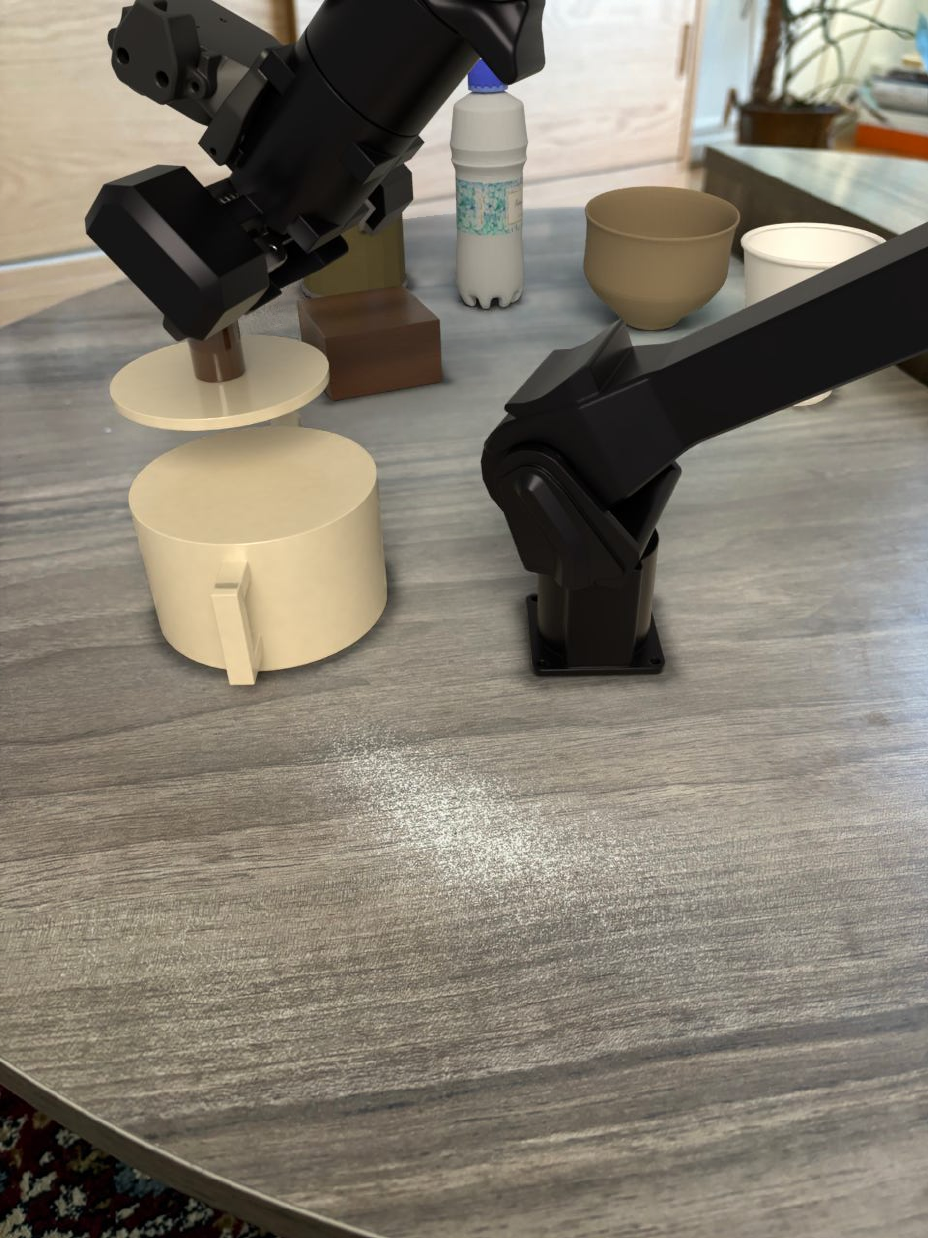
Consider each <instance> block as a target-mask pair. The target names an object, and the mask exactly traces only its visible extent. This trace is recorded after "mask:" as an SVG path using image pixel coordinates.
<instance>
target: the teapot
mask: <svg viewBox="0 0 928 1238" xmlns="http://www.w3.org/2000/svg"><path fill="white" fill-rule="evenodd" d="M378 476H379V475H378V469H377V464H376V462H375V460H374V458H373V457H372V455H371V454H370V453H369V452H368V451H367V450H366V449H365V448H364V447H363V446H361V445H360V444H359V443H357V442H355V441H354V440H352V439H350V438H348V437H345V436H343V435H340V434H337V433H334V432H330V431H327V430H323V429H317V428H312V427H304V426H302V416H301V413H300V411H299V410H298V409H296V410H294V411H292V412H290V413H287V414H284V415H282V416H279V417H276V418H273V419H270V420H269V425H266V426H253V427H245V428H244V427H243V428H236V429H232V430H226V431H222V432H219V433H213V434H210V435H205V436H203V437H199V438H197V439H194V440H190V441H188V442H185V443H183V444H181V445H178V446H176V447H174V448H172V449H170V450H168V451H166V452H165V453H163V454H161V455H160V456H158V457H157V458H155V459H153V460H151V462H150V463H148V464H147V465H145V467H144V468H143V469H142V470H141V471H140V472H138V474H137V475H136V476H135V478H134V480H133V481H132V484H131V485H130V488H129V490H128V497H127V500H128V507H129V512H130V515H131V519H132V523H133V527H134V530H135V534H136V538H137V542H138V546H139V550H140V554H141V558H142V562H143V565H144V571H145V573H146V574H145V575H146V577H147V581H148V585H149V589H150V593H151V597H152V601H153V604H154V609H155V612H156V617H157V619H158V624H159V628H160V630H161V632H162V635H163V637H164V638H165V639H166V641H167V642H168V644H169V645H170V646H171V647H172V648H173V649H174V650H176V651H177V652H178V653H179V654H181V655H183V656H184V657H186V658H188V659H190V660H191V661H194V662H196V663H198V664H202V665H205V666H208V667H211V668H216V669H221V670H226V674H227V678H228V684H229V685H230V686H253V685H254V686H255V684H256V680H257V676H258V673H259V672H270V671H278V670H285V669H291V668H296V667H300V666H304V665H308V664H311V663H314V662H317V661H320V660H324V659H325V658H329V657H330V656H333V655H335V654H337V653H338V652H341V651H343V650H345V649H347V648H349V647H350V646H351V645H353V644H354V643H356V642H357V641H359V640H360V639H361V638H362V637H364V636H365V635H366V634H367V633H368V632H369V631H370V630H371V629H373V627H374V626H375V625H376V624H377V622H378V621H379V619H380V618H381V616H382V615H383V612H384V610H385V608H386V605H387V601H388V600H387V599H388V583H387V571H386V558H385V547H384V535H383V523H382V522H383V521H382V511H381V502H380V501H381V499H380V488H379V477H378Z"/></svg>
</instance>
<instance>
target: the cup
mask: <svg viewBox="0 0 928 1238" xmlns="http://www.w3.org/2000/svg"><path fill="white" fill-rule="evenodd" d="M886 241H887V240H886V239H885V238H883V237H882V236H880V235H878V234H876V233H874V232H870V231H867V230H864V229H861V228H856V227H852V226H846V225H842V224H834V223H833V224H832V223H821V222H784V223H773V224H768V225H763V226H760V227H756V228H753V229H751V230H749V231H747V232H745V233H744V234H743V235H742V236H741V238H740V245H741V248H742V249H743V261H744V262H743V263H744V264H743V265H744V268H743V271H744V296H745V299H744V301H745V302H744V303H745V305H744V306H745V307H744V308H747V307H749V306H751V305H753V304H755V303H757V302H760V301H762V300H764V299H766V298H768V297H770V296H772V295H774V294H776V293H778V292H781V291H783V290H785V289H787V288H789V287H791V286H793V285H795V284H797V283H800V282H802V281H804V280H806V279H808V278H810V277H812V276H814V275H816V274H818V273H821V272H823V271H825V270H827V269H829V268H831V267H833V266H835V265H837V264H840V263H842V262H844V261H846V260H848V259H850V258H852V257H854V256H856V255H858V254H861V253H863V252H865V251H867V250H869V249H871V248H873V247H875V246H877V245H880V244H882V243H884V242H886ZM832 392H833V390H831V391H828V392H826V393H823V394H821V395H818V396H816V397H813V398H811V399H809V400H806V401H804V402H801V403H799V404H796V405H794V406H793V407H805V406H806V407H807V406H812V405H816V404H817V403H820V402H821V401H824V400H825V399H826V398H828V397H829V396H831V394H832Z"/></svg>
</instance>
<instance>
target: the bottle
mask: <svg viewBox="0 0 928 1238" xmlns="http://www.w3.org/2000/svg"><path fill="white" fill-rule="evenodd" d="M467 90H468V91H470V92H469V93H468V94H466V95H464V96H463V97H462V98H460V99H459V100H456V102H455V103H454V104H453V106H452V107H453V108H452V117H451V118H452V120H451V131H450V140H449V148H450V151H451V152H450V153H451V158H450V161H451V163H452V166H453V168H454V173H455V176H454V177H455V179H454V180H455V211H456V212H455V213H456V251H455V253H456V254H455V281H456V285H457V286H456V287H457V290H458V293H459V295H460V296H461V298H462V300H463V302H464V303H465V304H466V305H468V306H470V307H474V306H475V305H476V304H477V299H478V302H479V305H480V307H481V308H482V309H484V310H488V309H490V307H491V303H492V300H493V299H495V298H497V300H498V305H499V307H500V308H506V307H508V306H509V305H510V304H511V303H512V304H513V303H515V302H517V301H518V300H519V299H520V297H521V295H522V293H523V289H524V285H525V284H524V283H525V258H524V257H525V256H524V243H523V242H524V241H523V217H524V216H523V215H524V214H523V213H524V212H523V211H524V210H523V209H524V208H523V206H524V204H523V203H524V200H523V199H524V195H523V194H524V167H525V164H526V162H527V159H528V155H527V148H528V145H529V144H528V143H529V139H528V133H527V124H526V115H525V114H526V113H525V105H524V102H523V101H522V100H521V99H520V98H518V97H516V96H515V95H512V94H511V93H509V92H508V90H509V85H504V84H503V83H501V82H500V81H499V80H498V78H497V77H496V76H495V75H494V73H493V72H492V71H491V70H490V69H489V67H488V66H487V65H486V64H485V63H484V61H483V60H482V59H481V58H480V60H479V61H478V62H477V63H476V64H475V66H474V67H473V68H472V69H471V71H470V72H469V73H468V74H467ZM506 90H507V91H506Z"/></svg>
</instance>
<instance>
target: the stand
mask: <svg viewBox="0 0 928 1238" xmlns="http://www.w3.org/2000/svg"><path fill="white" fill-rule="evenodd" d="M296 308H297V317H298V325H299V332H300V341H302V342H305V343H307V344H309V345H312V346H314V347H315V348H317V349H319V350H320V351H321V352H322V353H323V354H324V355H325V356H326V358H327V360H328V363H329V370H330V379H329V382H328V385H327V386H326V388H325V389H324V392H325V393H326V395H327V397H328V398H329V400H330V401H332V402H334V401H340V400H346V399H351V398H352V399H353V398H359V397H362V396H368V395H374V394H381V393H385V392H391V391H396V390H397V391H398V390H402V389H409V388H413V387H414V388H415V387H419V386H426V385H430V384H437V383H442V382H443V363H442V362H443V361H442V338H441V336H442V335H441V318H439V317H438V316H437V315H435V313H434V312H433V311H431V310H430V309H429V308H428V307H427V306H426V305H425V304H424V303H423V302H422V301H421V300H420V299H419V298H417V297H416V296H415V295H414V294H413V292H411V290H409V289H408V287H406V288H405V287H404V286H403V285H399V286H392V287H385V288H378V289H372V290H365V291H358V292H351V293H344V294H338V295H331V296H324V297H317V298H310V297H309V298H305V299H298V300H296Z"/></svg>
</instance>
